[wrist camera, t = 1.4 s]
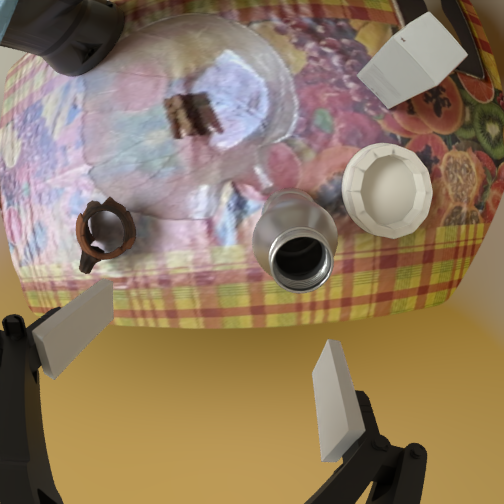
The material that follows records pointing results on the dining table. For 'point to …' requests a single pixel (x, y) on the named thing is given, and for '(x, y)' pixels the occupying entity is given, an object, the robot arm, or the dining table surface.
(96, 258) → the broken clay pot
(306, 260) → the plastic bottle
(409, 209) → the bowl
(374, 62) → the small box
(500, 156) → the dining table surface
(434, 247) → the dining table surface
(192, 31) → the dining table surface
